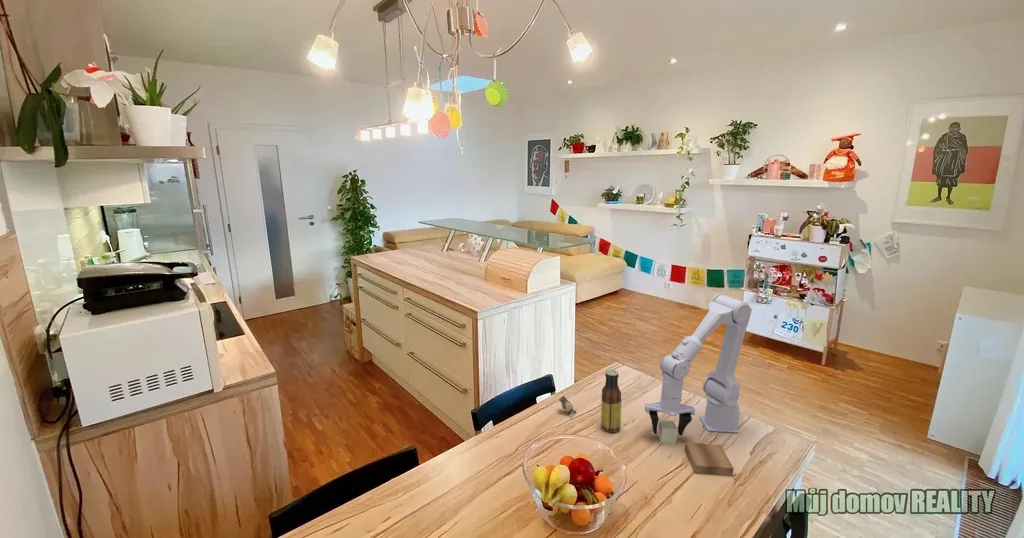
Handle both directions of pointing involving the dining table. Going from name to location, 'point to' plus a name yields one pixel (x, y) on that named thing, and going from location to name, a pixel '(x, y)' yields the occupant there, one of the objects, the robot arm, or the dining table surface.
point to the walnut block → (708, 459)
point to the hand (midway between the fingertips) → (667, 432)
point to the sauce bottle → (611, 403)
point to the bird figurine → (567, 406)
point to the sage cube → (667, 432)
